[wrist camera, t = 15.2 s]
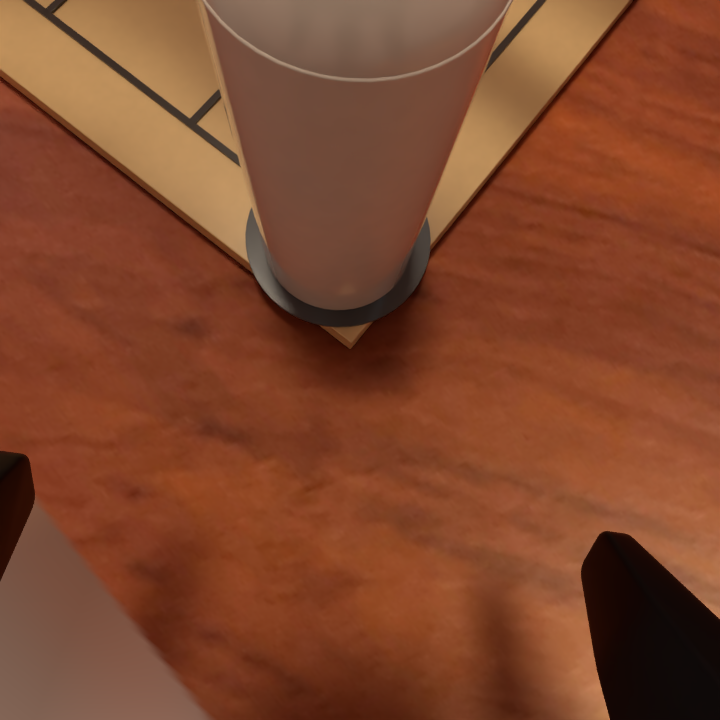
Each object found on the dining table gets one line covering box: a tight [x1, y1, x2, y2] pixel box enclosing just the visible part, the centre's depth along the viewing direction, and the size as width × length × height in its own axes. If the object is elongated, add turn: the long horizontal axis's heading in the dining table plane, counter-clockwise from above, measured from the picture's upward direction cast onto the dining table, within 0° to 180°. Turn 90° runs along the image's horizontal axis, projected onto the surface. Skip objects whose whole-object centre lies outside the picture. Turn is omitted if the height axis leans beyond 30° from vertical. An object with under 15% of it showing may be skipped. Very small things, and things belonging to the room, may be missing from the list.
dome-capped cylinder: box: [195, 0, 513, 310], centre depth 12 cm, size 5×5×13 cm
